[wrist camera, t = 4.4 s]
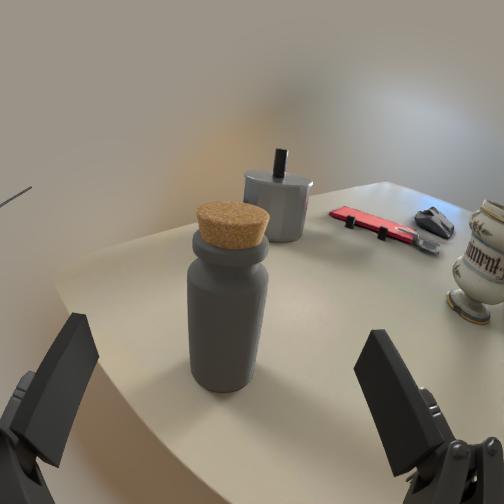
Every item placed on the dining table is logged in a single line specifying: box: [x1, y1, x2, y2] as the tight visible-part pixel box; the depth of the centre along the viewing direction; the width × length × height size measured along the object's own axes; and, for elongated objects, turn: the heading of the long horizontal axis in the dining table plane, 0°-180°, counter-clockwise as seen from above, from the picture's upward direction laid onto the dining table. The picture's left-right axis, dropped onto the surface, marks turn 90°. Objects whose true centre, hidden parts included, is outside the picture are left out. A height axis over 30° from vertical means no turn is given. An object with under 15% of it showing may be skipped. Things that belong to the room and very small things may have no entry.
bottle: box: [187, 201, 270, 392], centre depth 21 cm, size 6×6×15 cm
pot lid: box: [244, 148, 313, 188], centre depth 52 cm, size 13×13×7 cm
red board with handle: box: [329, 206, 440, 254], centre depth 65 cm, size 30×3×15 cm
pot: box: [243, 178, 310, 242], centre depth 56 cm, size 12×12×10 cm
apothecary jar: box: [447, 200, 504, 324], centre depth 33 cm, size 12×12×18 cm
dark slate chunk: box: [414, 207, 454, 238], centre depth 78 cm, size 15×22×5 cm
